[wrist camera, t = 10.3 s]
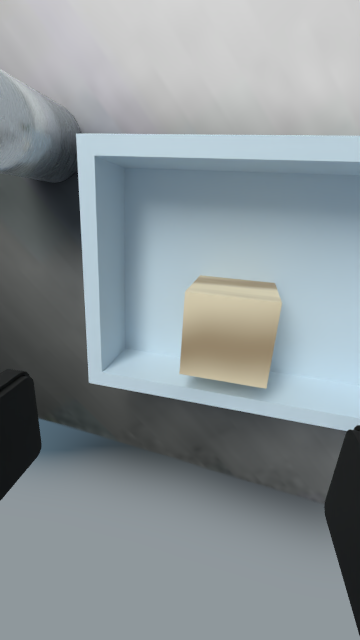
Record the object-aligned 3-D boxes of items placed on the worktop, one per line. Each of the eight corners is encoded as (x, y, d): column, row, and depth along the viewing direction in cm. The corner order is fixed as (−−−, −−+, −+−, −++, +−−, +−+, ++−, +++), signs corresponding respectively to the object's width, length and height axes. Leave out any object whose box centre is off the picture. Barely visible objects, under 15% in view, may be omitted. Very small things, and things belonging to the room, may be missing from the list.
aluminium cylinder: (24, 181, 22) (-69, 165, 16) (15, 102, 21) (-93, 48, 14) (84, 183, 21) (11, 168, 15) (81, 101, 20) (-4, 43, 13)
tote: (118, 352, 25) (88, 382, 20) (116, 153, 20) (76, 133, 15) (409, 399, 21) (454, 451, 16) (499, 161, 16) (601, 138, 11)
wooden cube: (200, 275, 20) (184, 291, 16) (275, 282, 19) (282, 302, 15) (194, 341, 22) (179, 373, 17) (263, 351, 21) (266, 388, 16)
